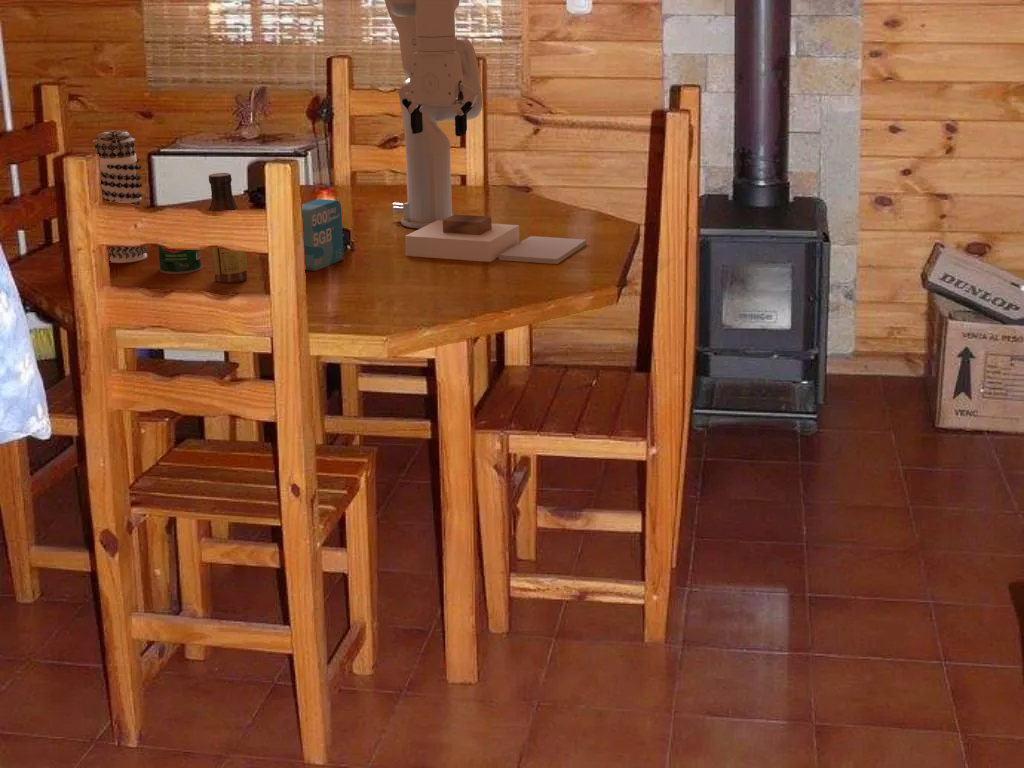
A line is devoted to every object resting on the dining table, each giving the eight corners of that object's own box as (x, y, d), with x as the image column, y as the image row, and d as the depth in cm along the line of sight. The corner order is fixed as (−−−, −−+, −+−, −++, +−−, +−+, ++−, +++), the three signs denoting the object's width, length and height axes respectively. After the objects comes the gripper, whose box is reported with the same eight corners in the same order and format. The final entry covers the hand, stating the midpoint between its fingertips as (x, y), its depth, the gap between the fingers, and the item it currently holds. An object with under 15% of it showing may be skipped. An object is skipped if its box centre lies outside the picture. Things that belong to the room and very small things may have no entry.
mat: (498, 259, 289) (498, 254, 289) (530, 240, 305) (530, 236, 304) (557, 264, 285) (557, 259, 284) (586, 244, 301) (586, 239, 300)
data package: (312, 272, 281) (308, 210, 278) (292, 271, 283) (288, 208, 279) (344, 259, 292) (341, 199, 288) (324, 257, 294) (321, 197, 290)
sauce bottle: (254, 278, 278) (247, 172, 272) (235, 285, 273) (227, 178, 267) (225, 275, 281) (217, 170, 275) (205, 282, 275) (197, 176, 269)
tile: (443, 232, 295) (442, 220, 294) (454, 226, 300) (454, 214, 299) (480, 235, 292) (480, 222, 291) (491, 229, 297) (491, 216, 297)
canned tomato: (166, 275, 281) (160, 218, 278) (155, 267, 288) (150, 211, 284) (206, 270, 284) (202, 214, 281) (195, 262, 291) (190, 207, 288)
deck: (405, 255, 294) (404, 235, 292) (438, 239, 308) (437, 220, 307) (490, 261, 287) (489, 241, 286) (519, 244, 302) (519, 225, 300)
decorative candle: (158, 254, 299) (147, 129, 291) (133, 264, 290) (120, 136, 283) (119, 251, 302) (107, 128, 294) (93, 261, 293) (79, 134, 286)
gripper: (387, 46, 288) (391, 134, 293) (466, 48, 281) (469, 139, 286) (406, 42, 294) (410, 129, 299) (484, 44, 287) (486, 133, 292)
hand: (438, 134), depth 293 cm, fingers open, 9 cm apart
